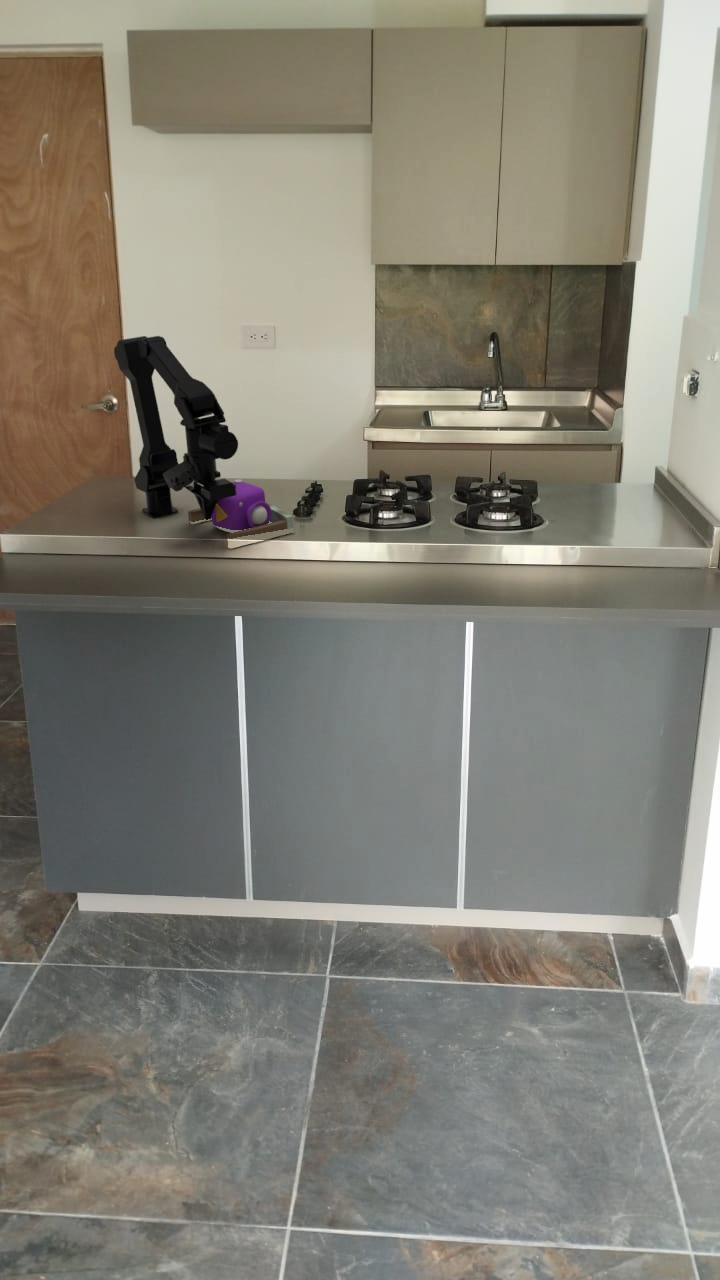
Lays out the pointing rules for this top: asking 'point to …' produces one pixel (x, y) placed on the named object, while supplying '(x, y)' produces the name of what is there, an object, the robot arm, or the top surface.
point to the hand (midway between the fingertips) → (207, 518)
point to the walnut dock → (278, 520)
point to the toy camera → (242, 508)
